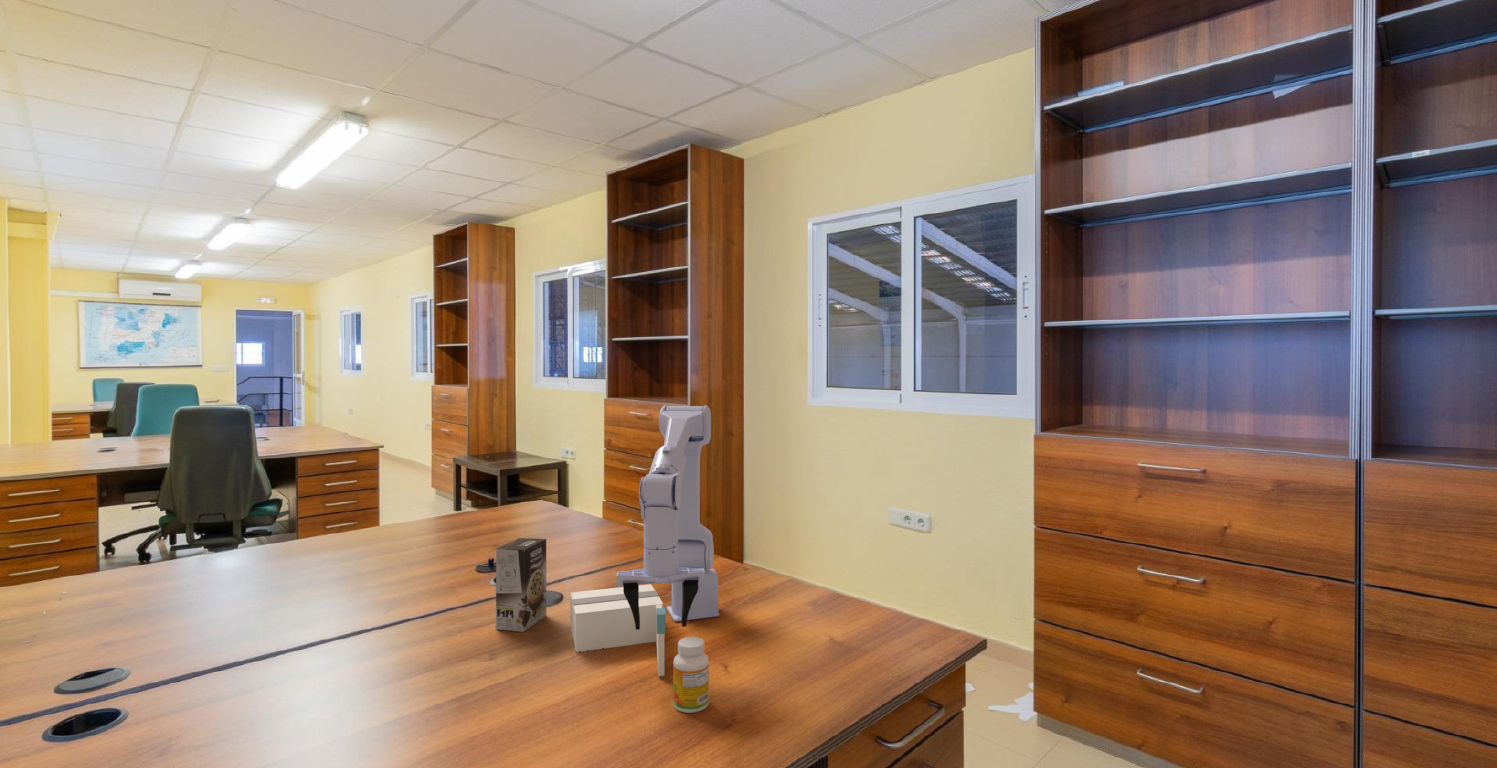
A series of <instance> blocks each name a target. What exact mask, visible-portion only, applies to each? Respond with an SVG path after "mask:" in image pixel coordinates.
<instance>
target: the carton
mask: <svg viewBox="0 0 1497 768" xmlns="http://www.w3.org/2000/svg"><path fill="white" fill-rule="evenodd" d="M660 604H662V608H664V603H663V601H662V600H661V598H660V595H659V593H658V592H657V590H656V589H655V588H654V586H653V585H652V584H639V615H640V629H637V630H636V628H635V621H634V617H633V613H632V610H631V608H630V605H629V603H628V601H627V599H626V597H625V595H624V592H623V586H622V587H613V588H612V587H610V588H604V589H603V588H602V589H601V588H600V589H594V590H593V589H592V590H591V589H590V590H585V591H584V590H582V591H575V592H574V591H573V592H570V630H571V635H572V636H571V637H572V640H573V641H572V642H573V645H574V649H575V650H576V651H575V653H580V652H579V651H581V652H588V651H587V650H589V651H594V650H595V649H596V650H603V649H602V648H604V649H609V648H610V649H612V648H617V647H626V646H633V645H641V644H646V643H647V644H649V643H656V605H660Z"/></svg>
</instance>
